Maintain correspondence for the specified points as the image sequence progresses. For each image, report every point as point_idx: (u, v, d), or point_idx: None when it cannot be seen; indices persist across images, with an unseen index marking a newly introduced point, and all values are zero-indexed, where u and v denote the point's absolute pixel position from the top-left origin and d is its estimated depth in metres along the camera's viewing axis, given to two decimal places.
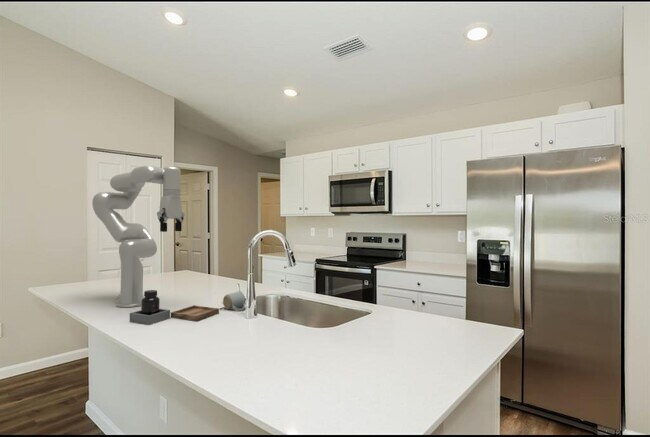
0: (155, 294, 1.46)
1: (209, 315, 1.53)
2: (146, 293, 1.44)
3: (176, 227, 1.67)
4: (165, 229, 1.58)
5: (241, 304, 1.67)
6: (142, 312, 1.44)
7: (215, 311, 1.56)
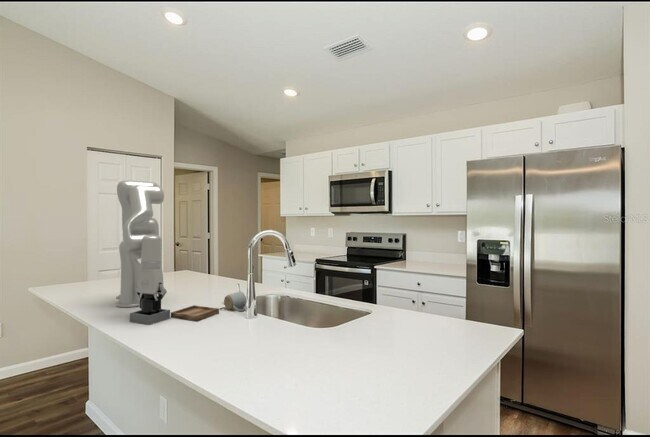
0: None
1: (209, 315, 1.53)
2: None
3: None
4: None
5: (242, 304, 1.66)
6: (142, 312, 1.44)
7: (215, 311, 1.56)
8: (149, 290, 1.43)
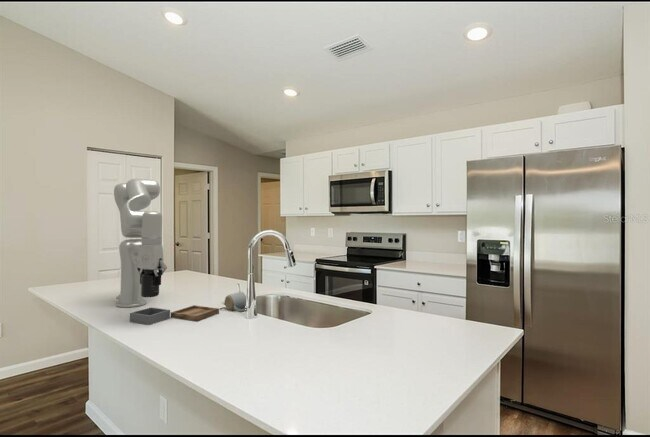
0: None
1: (209, 315, 1.53)
2: (146, 269, 1.45)
3: None
4: None
5: (243, 305, 1.66)
6: (142, 287, 1.44)
7: (215, 311, 1.56)
8: (149, 266, 1.44)
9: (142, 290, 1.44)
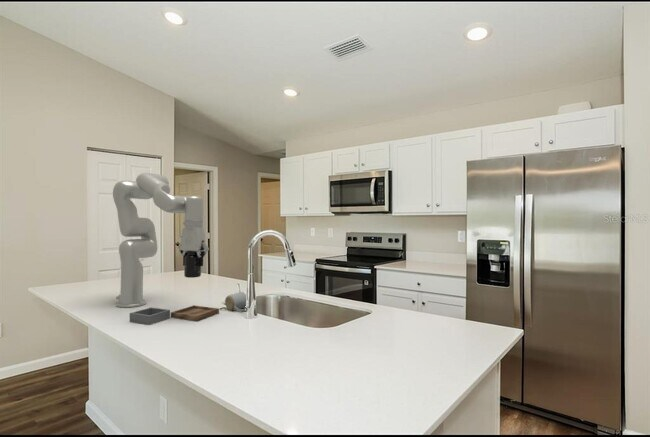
0: None
1: (209, 315, 1.53)
2: None
3: None
4: (202, 263, 1.54)
5: (243, 305, 1.66)
6: (186, 268, 1.51)
7: (215, 311, 1.56)
8: (192, 247, 1.51)
9: (186, 271, 1.51)
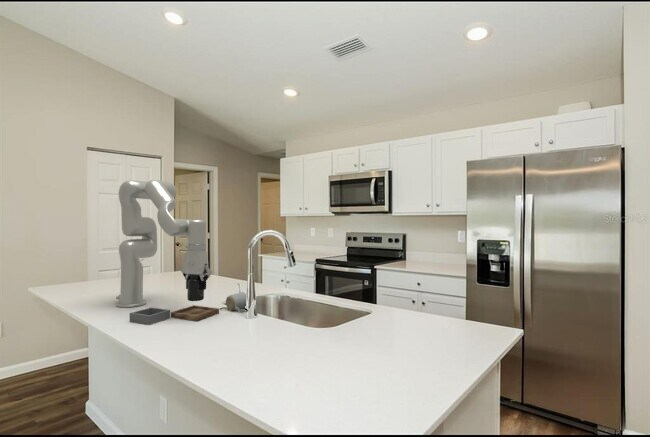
0: None
1: (209, 315, 1.53)
2: None
3: None
4: None
5: (244, 305, 1.65)
6: (189, 292, 1.52)
7: (215, 311, 1.56)
8: (196, 271, 1.51)
9: (189, 294, 1.52)
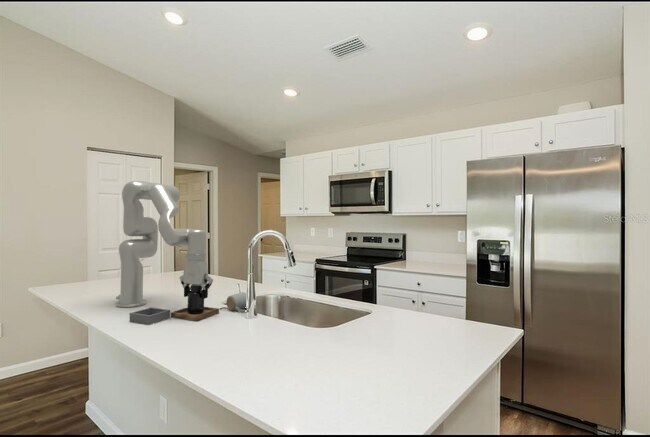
0: (200, 288, 1.54)
1: (209, 315, 1.53)
2: (192, 287, 1.52)
3: (186, 292, 1.56)
4: None
5: (245, 305, 1.65)
6: (189, 305, 1.52)
7: (215, 311, 1.56)
8: (195, 281, 1.51)
9: (189, 307, 1.52)
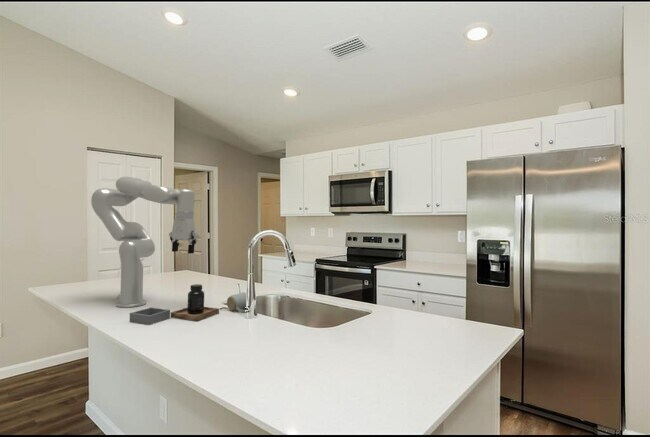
0: (200, 288, 1.54)
1: (209, 315, 1.53)
2: (192, 287, 1.52)
3: (174, 247, 1.67)
4: None
5: (245, 305, 1.65)
6: (189, 305, 1.52)
7: (215, 311, 1.56)
8: (183, 236, 1.63)
9: (189, 307, 1.52)
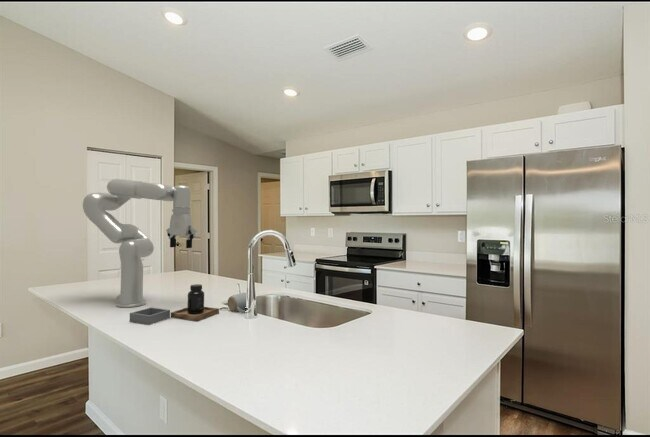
0: (200, 288, 1.54)
1: (209, 315, 1.53)
2: (192, 287, 1.52)
3: (172, 243, 1.70)
4: (191, 245, 1.69)
5: None
6: (189, 305, 1.52)
7: (215, 311, 1.56)
8: (180, 232, 1.66)
9: (189, 307, 1.52)
